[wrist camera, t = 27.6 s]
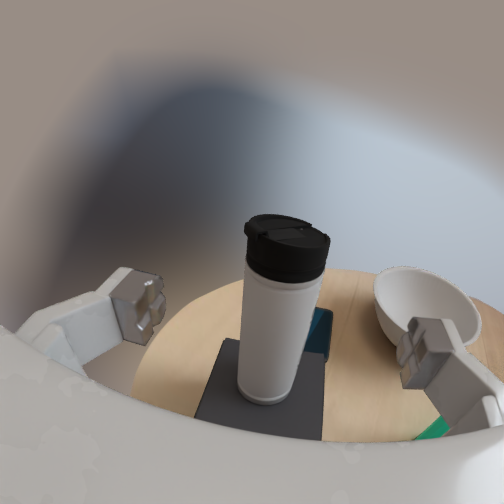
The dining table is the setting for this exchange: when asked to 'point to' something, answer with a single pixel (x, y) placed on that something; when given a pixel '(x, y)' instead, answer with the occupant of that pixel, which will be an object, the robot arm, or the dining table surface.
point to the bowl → (422, 302)
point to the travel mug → (277, 303)
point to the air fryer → (265, 416)
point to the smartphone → (320, 332)
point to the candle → (434, 430)
